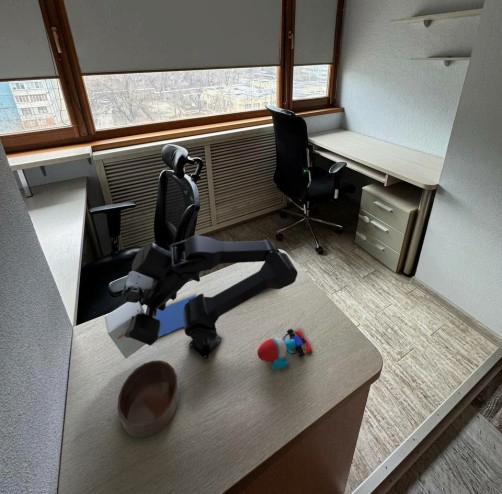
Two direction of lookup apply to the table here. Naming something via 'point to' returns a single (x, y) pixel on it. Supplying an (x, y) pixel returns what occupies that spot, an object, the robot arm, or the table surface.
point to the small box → (124, 327)
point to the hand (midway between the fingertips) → (130, 321)
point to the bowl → (148, 398)
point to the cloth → (172, 317)
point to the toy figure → (282, 348)
